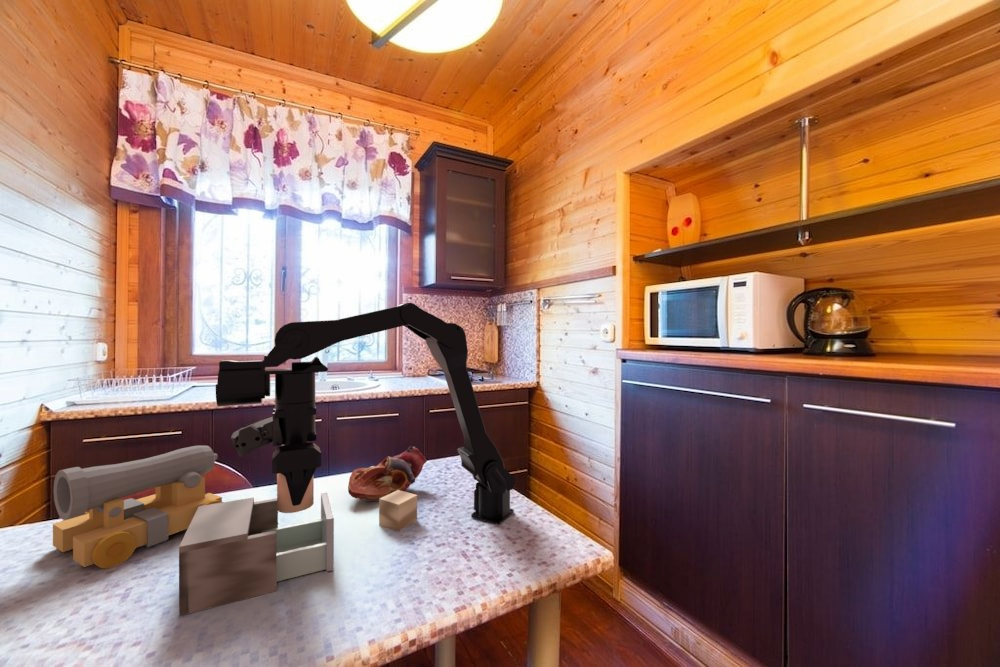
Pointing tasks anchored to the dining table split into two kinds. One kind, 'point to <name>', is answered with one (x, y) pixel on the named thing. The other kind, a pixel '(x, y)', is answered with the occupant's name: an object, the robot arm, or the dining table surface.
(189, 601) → the housing
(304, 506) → the tan rounded cylinder
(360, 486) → the anatomical model
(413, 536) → the dining table surface
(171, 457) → the toy cannon
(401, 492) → the block
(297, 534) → the drawer
